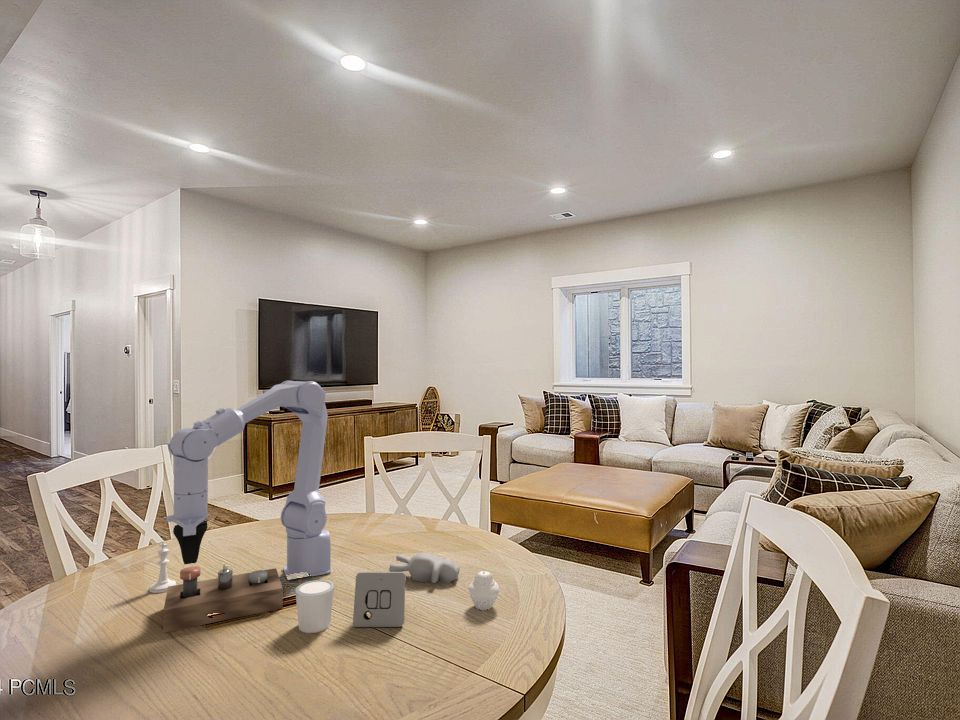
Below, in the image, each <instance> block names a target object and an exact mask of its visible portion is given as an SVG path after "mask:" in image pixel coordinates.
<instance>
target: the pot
mask: <svg viewBox="0 0 960 720" xmlns="http://www.w3.org/2000/svg"><path fill="white" fill-rule="evenodd" d="M228 567H229V566H228V564H223V565H222V569H220V570H219V571H218V572H217V578H218V590H227V589H230V588H231V587H232V576H233V569H231V568H228Z"/></svg>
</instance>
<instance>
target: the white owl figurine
mask: <svg viewBox="0 0 960 720" xmlns="http://www.w3.org/2000/svg"><path fill="white" fill-rule="evenodd" d="M493 577H494V576H493V574H492V573H491V572H489V571H485V570H484V571H483V570H482V571H478V572H477V573H476V574H475V576H474V579H473V581H472V582H471V583H470V584H468V585H469V586H468V588H467V590H468V593H469V597H470V599H471V601H472V603H473V604H474V607H475V608H476V609H477V610H479V609H480V610H479V611H488V610H491V609H492V608H491V607H494V604H495V602H496V601H497V598H498V595H499V592H500V586H499V585H498V583H497V582H496V581H495V580H494V578H493ZM487 609H488V610H487Z"/></svg>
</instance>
